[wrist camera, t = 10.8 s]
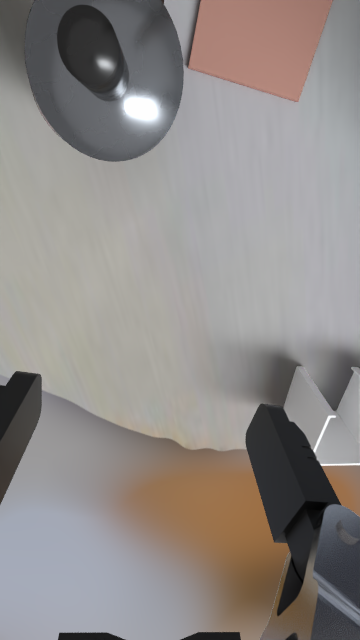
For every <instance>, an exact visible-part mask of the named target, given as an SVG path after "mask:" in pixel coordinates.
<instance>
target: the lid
mask: <svg viewBox="0 0 360 640" xmlns="http://www.w3.org/2000/svg"><path fill="white" fill-rule="evenodd" d="M25 62H26V68H27V74H28V78H29V82H30V85H31V89H32V91H33V94H34V96H35V99H36V101H37V103H38V105H39V107H40V109H41V111H42V113H43V115H44V116H45V118H46V119H47V121H48V122H49V124H50V125H51V126H52V128H53V129H54V130H55V131H56V132H57V133H58V134H59V135H60V137H61V138H62V139H63V140H65V141H66V142H67V143H68V144H69V145H71V146H72V147H73V148H75V149H77V150H78V151H80V152H81V153H83V154H86V155H88V156H90V157H93V158H96V159H99V160H104V161H126V160H130V159H134V158H137V157H139V156H141V155H144V154H145V153H147V152H148V151H150V150H151V149H153V148H154V147H155V146H156V145H157V144H158V143H159V142H160V141H161V140H162V139H163V138H164V136H165V135H166V133H167V132H168V130H169V129H170V127H171V125H172V123H173V121H174V119H175V116H176V114H177V111H178V108H179V105H180V100H181V96H182V89H183V73H184V71H183V58H182V52H181V46H180V42H179V39H178V35H177V31H176V29H175V26H174V24H173V21H172V19H171V17H170V15H169V13H168V11H167V9H166V7H165V6H164V4H163V3H162V1H161V0H34V3H33V5H32V7H31V10H30V13H29V17H28V21H27V26H26V33H25Z"/></svg>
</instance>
